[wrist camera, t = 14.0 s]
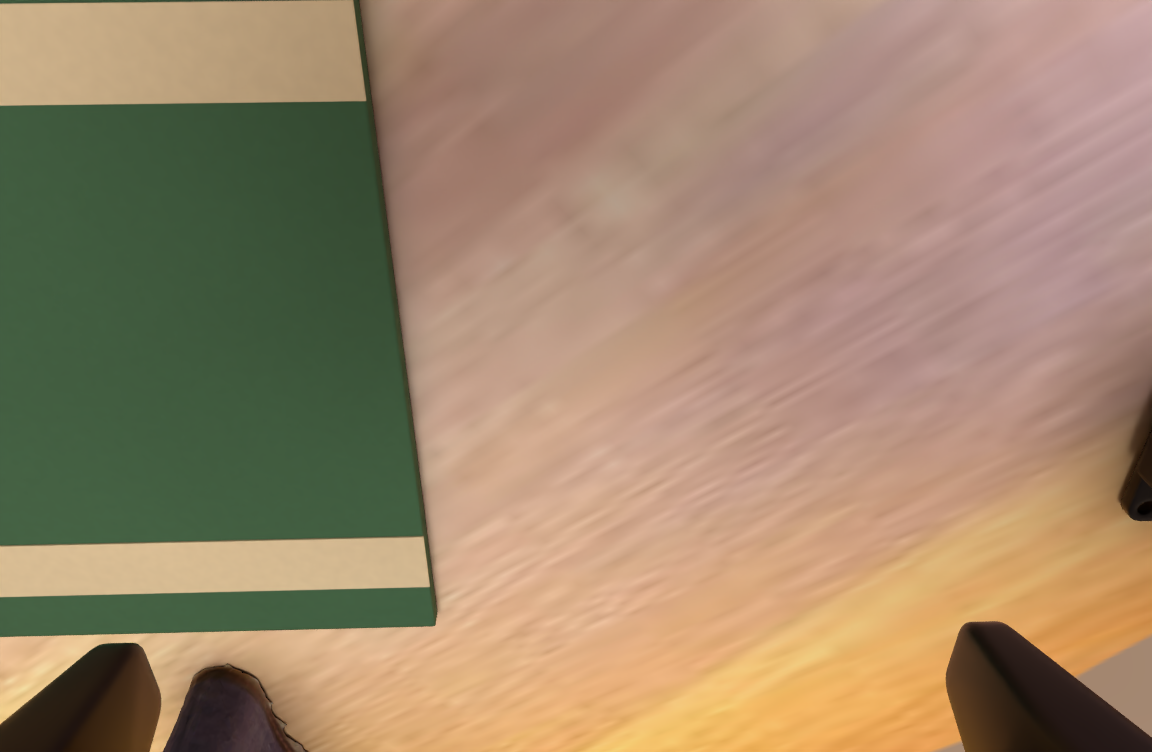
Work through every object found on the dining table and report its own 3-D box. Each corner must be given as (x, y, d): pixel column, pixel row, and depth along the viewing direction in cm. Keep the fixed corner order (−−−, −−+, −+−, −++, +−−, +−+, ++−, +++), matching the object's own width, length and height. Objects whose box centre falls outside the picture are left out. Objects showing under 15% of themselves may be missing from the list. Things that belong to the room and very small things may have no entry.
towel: (346, -103, 17) (339, -102, 16) (437, 612, 27) (435, 628, 26) (-373, -97, 16) (-406, -96, 16) (-4, 623, 27) (-16, 639, 26)
